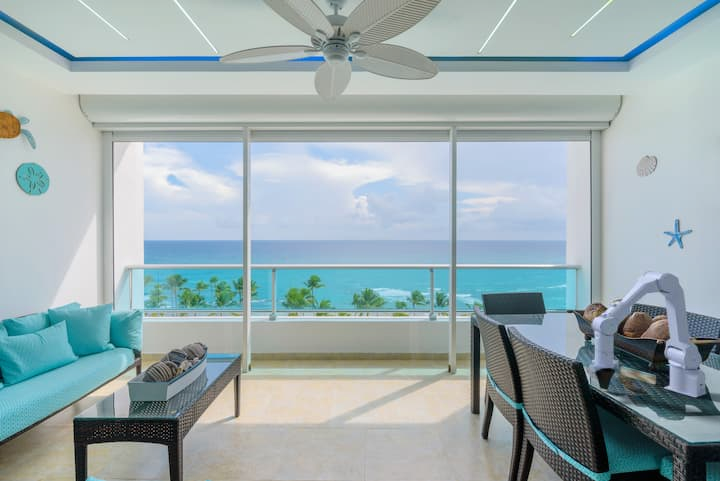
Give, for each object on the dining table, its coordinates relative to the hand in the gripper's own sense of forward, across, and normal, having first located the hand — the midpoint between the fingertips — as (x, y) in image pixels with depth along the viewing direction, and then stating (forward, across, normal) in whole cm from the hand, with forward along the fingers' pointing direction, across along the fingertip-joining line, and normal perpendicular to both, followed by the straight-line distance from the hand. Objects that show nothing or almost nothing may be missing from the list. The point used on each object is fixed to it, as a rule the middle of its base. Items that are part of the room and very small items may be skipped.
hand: (604, 388), depth 142 cm
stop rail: (+1, -24, -1) cm, 24 cm away
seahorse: (+2, -15, +1) cm, 15 cm away
